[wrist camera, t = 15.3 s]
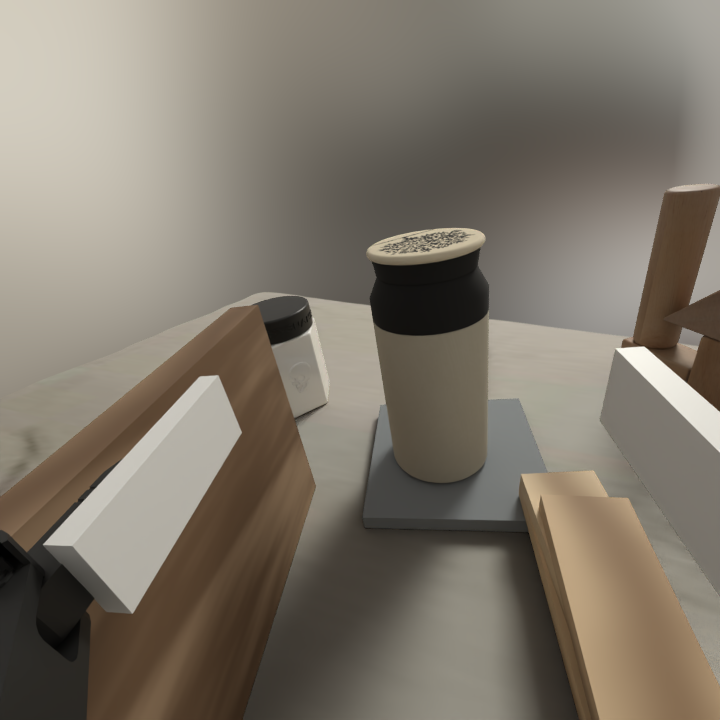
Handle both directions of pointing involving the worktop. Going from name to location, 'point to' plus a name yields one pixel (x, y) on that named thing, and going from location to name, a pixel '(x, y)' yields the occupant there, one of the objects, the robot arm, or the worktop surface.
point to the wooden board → (190, 535)
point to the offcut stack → (613, 606)
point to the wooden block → (682, 291)
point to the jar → (296, 351)
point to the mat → (460, 498)
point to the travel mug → (433, 350)
